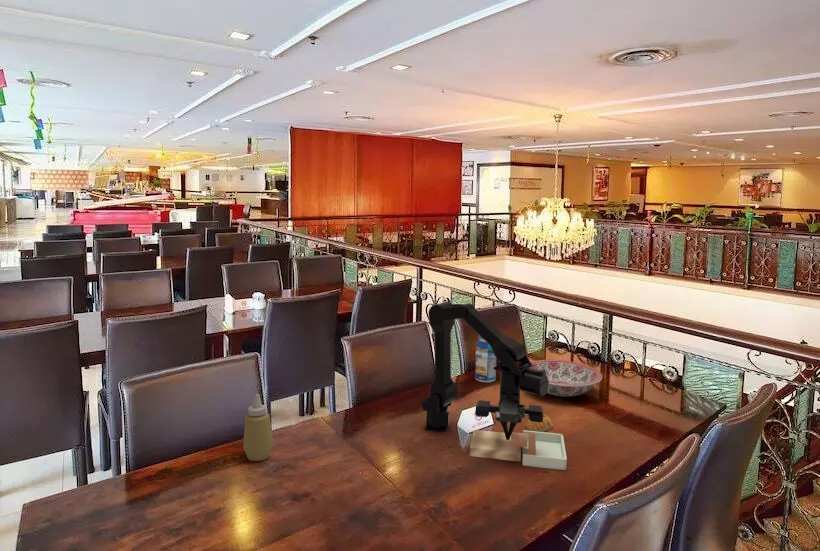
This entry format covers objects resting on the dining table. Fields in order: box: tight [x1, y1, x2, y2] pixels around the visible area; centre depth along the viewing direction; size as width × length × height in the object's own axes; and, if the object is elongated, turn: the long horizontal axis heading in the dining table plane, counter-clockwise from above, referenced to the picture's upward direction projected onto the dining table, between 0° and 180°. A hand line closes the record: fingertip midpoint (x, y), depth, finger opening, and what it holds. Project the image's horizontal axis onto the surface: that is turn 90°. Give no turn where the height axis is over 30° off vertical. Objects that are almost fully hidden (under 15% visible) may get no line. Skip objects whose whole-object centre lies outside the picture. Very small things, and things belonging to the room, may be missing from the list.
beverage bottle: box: [474, 333, 497, 383], centre depth 216 cm, size 8×8×20 cm
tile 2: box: [528, 433, 536, 455], centre depth 156 cm, size 4×4×2 cm
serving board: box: [469, 429, 522, 463], centre depth 158 cm, size 14×12×2 cm
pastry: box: [524, 414, 554, 432], centre depth 173 cm, size 9×7×4 cm
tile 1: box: [511, 432, 528, 448], centre depth 157 cm, size 4×4×2 cm
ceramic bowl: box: [530, 359, 603, 397], centre depth 204 cm, size 29×29×8 cm
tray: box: [521, 429, 568, 471], centre depth 156 cm, size 12×16×3 cm
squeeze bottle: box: [242, 393, 274, 462], centre depth 150 cm, size 8×8×18 cm
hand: (507, 439), depth 157 cm, fingers closed
